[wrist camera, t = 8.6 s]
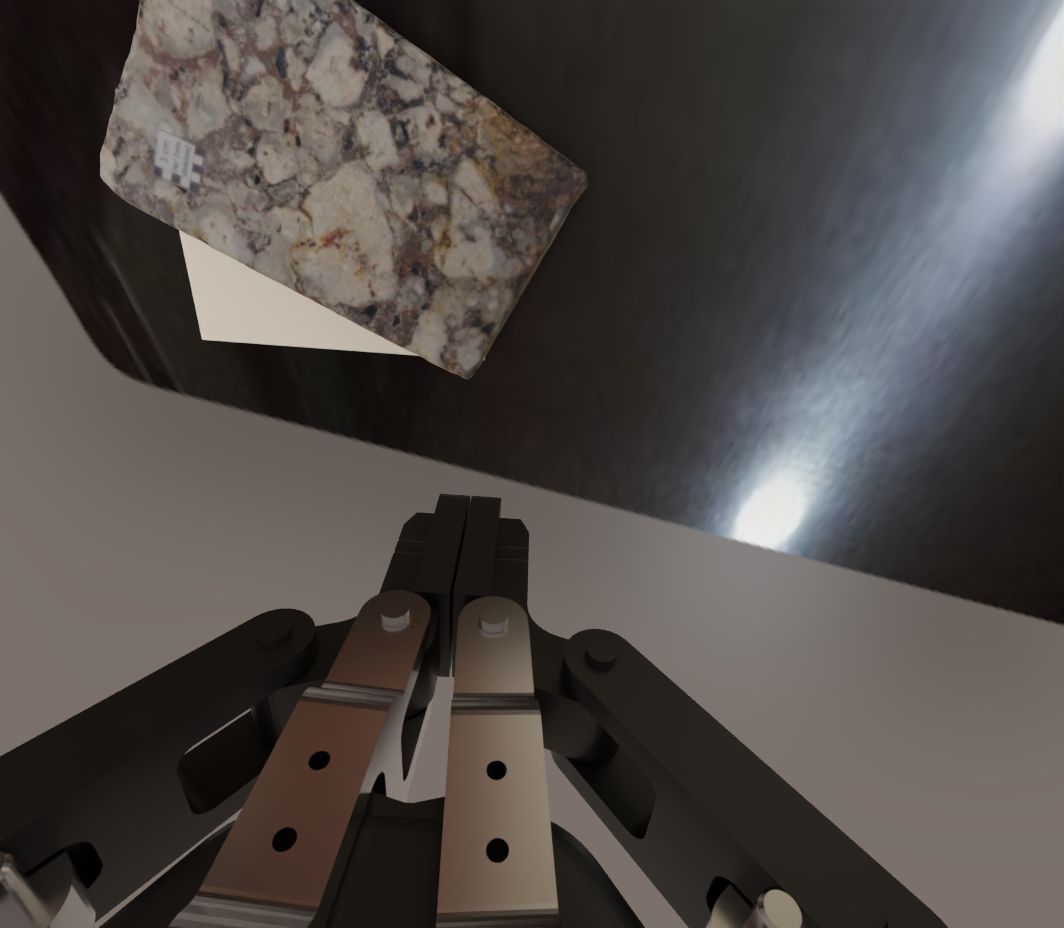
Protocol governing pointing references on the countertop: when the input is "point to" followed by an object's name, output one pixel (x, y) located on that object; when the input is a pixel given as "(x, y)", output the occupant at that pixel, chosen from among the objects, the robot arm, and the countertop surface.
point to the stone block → (338, 166)
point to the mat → (265, 308)
